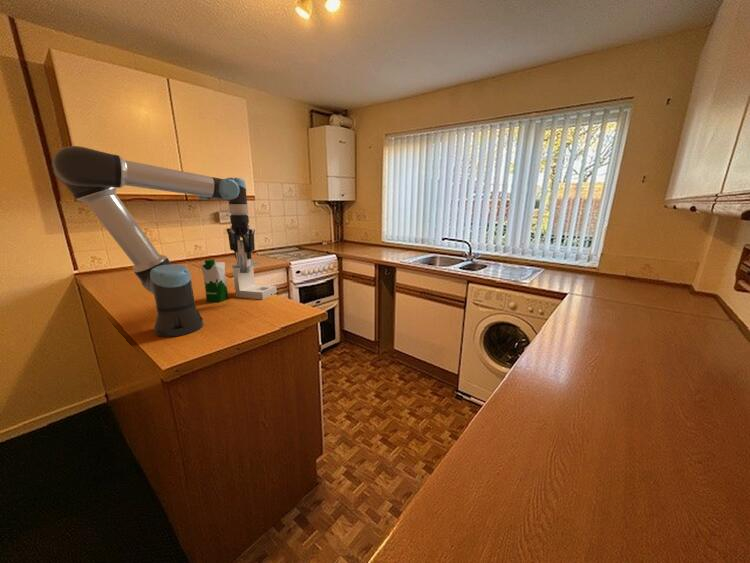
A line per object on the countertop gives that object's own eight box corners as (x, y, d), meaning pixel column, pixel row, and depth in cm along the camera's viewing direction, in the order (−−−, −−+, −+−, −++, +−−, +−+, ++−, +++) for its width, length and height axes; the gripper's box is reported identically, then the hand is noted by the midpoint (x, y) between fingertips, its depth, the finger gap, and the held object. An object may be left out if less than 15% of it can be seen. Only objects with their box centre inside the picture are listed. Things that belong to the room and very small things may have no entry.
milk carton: (203, 302, 141) (197, 260, 136) (215, 296, 150) (209, 257, 145) (221, 302, 140) (215, 261, 135) (231, 297, 149) (226, 257, 144)
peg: (245, 273, 136) (242, 240, 133) (238, 272, 137) (234, 240, 134) (251, 271, 140) (248, 239, 137) (243, 271, 141) (240, 239, 138)
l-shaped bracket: (262, 299, 145) (259, 266, 141) (236, 296, 149) (232, 265, 145) (276, 292, 156) (274, 262, 152) (251, 290, 160) (248, 261, 156)
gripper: (260, 214, 134) (264, 265, 139) (229, 214, 138) (234, 263, 144) (249, 214, 127) (254, 268, 132) (216, 214, 131) (222, 266, 137)
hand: (244, 265), depth 138 cm, fingers closed on peg, 4 cm apart
